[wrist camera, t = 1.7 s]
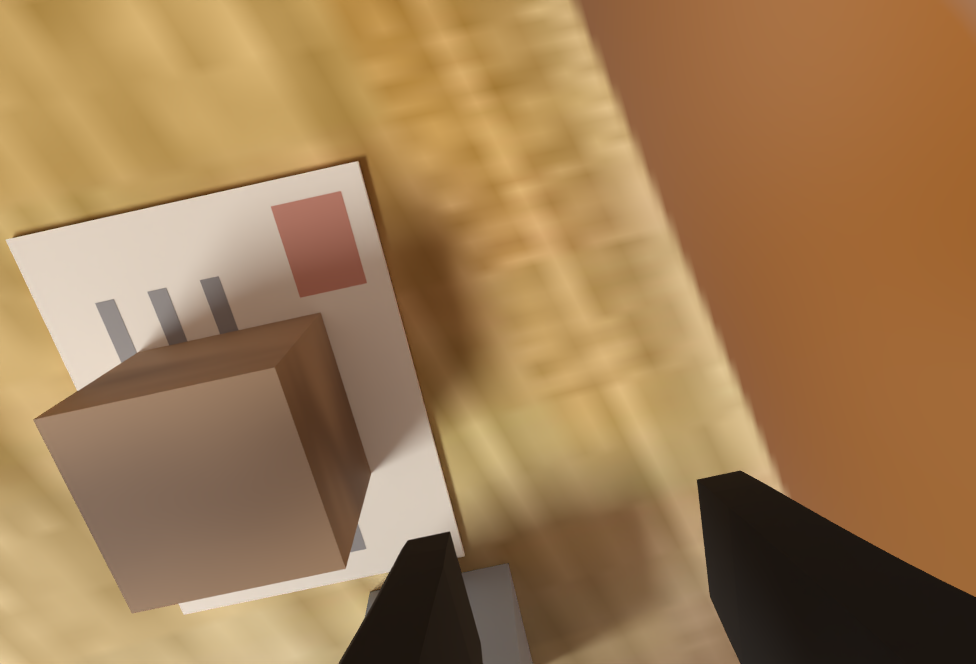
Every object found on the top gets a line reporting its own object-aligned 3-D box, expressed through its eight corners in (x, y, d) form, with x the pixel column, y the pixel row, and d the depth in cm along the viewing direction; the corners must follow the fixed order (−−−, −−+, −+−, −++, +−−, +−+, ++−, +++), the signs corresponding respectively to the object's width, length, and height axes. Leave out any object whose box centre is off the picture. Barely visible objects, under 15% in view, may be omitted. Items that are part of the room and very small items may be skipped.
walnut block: (371, 473, 17) (345, 569, 13) (205, 508, 17) (131, 613, 13) (320, 312, 15) (275, 367, 12) (138, 352, 15) (32, 419, 12)
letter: (464, 553, 18) (464, 556, 18) (185, 611, 18) (183, 615, 18) (358, 161, 14) (357, 161, 14) (10, 238, 15) (5, 239, 14)
